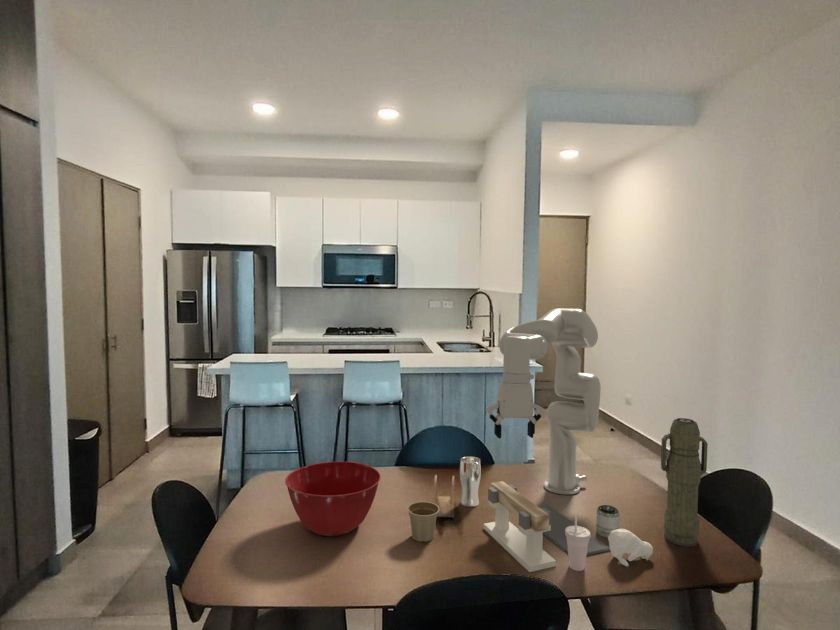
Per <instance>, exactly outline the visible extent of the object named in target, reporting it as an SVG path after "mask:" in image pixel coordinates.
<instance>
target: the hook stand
mask: <svg viewBox="0 0 840 630" xmlns="http://www.w3.org/2000/svg"><path fill="white" fill-rule="evenodd" d="M508 485H509V486H510V487H511V488H513V489H514V490H516V491H517V492H518V487H517V486H515V485H514V484H512V483H511V484H508ZM487 505H488V506H489V507H491V509H493V510H494V509H495V512H494V513H495V514H494V515H495V516H494V520H495V521H491V522H487V523H485V522H484V523H483V529H484V531H486V532H487V534H489V535H490V536H491V537H492V538H493V539H494V540H495V541H496V542H497V543H498V544H499V545H500V546H502V548H503V549H504V550H506V551H507V552H508V553H509V554H510V556H512V557H513V558H514V559H515V560H516V561H517V562H518V563H519V564H520V565H521V566H522V567H524V568H525V569H526V570H527V571H528V573H532V572H537V571H541V570H544V569H550V568H555V567H556V566H557V563H556V562H557V561H556V560H555V559H554V558H553V556H551V555H550V554H549V553H548V552H546V551H545V550H544V549H543V542H544V541H543V538H544V537H543V535H544V534H543V532H545V531H550V530H551V512H550V511H549V510H547V509H546V508H545V507H544V508H541V509H542V510H543V511H545V512H546V513H548V514H549V530H544V531H539V532H535V531H534V530H532V529H531V528H530V516H529V515H528V514H527V513H525V512H524V511H522V512H519V518H518V527H517V526H515V525H514V524H513V523H512V522H511V521H510V511H509V510H508V509H506V508H505V507H504V506H503V505H501V504H500V503H499V502H498V491H497V490H496V489H494V488H493V487H491V486H490V487H488V489H487Z"/></svg>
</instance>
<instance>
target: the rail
mask: <svg viewBox="0 0 840 630" xmlns="http://www.w3.org/2000/svg"><path fill="white" fill-rule="evenodd" d="M509 485H510V484H507V483H506V482H504V481H503V480H502V481H495V482H491V483H490V488H491V487H493V488H494V489H496V490H497V491H498V502H499V503H500V504H501V505H503V506H504V507H505V508H506V509H508V510H509V513H511V514H513V515H514V516H515V517H517V519H519V512H522V511H524V512H525V513H527V514H528V515H529V516H530V528H531V529H532V530H534V531H535V532H539V531H544V530H549V514H548V513H546V512H545V511H543V510H542V509H541V508H539V507H538V505H536V504H535V503H534V502H532V501H531V500H530V499H528V498H527V497H525V496H524V495H523V494H521V492H518V490H517V491H516V490H514V489H513V488H511V487H510V486H509Z"/></svg>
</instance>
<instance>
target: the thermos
mask: <svg viewBox="0 0 840 630" xmlns="http://www.w3.org/2000/svg"><path fill="white" fill-rule="evenodd" d="M698 425H699V424H698V422H697V421H694V420H693V419H690V418H685V417H684V418H682V417H679V418H674V419H673V421H672V423H671V425H670V427H669V433H667V434H664V435H663V437H662V438H661V452H660V453H661V454H660V468H661V471H664V472H666V474H665V478H666V480H667V492H666V493H667V494H666V495H667V497H666V510H665V511H664V517H663V518H664V521H663V527H664V538H665V539H666V540H667V541H668V542H670V543H672V544H675V545H677V546H680V547H681V546H682V547H694V546H697V545H698V543H699V541H698V540H699V539H698V537H699V532H700V519H699V516H698V508H699V507H698V505H699V503H698V502H699V485H700V483H701V481H702V480H701V478H702V477H701V476H702V475H704V474H705V473H707V469H708V468H707V464H708V463H707V462H708V442H707V440H706V439H705V438H704V437H702V436H701V431H700V428H699V426H698ZM668 440H669V446H670V447H669V448H670V449H669V450H668V451H669V452H668V455H667V441H668ZM700 442H701V454H700V453H699V450H700ZM700 455H701V457H700ZM700 458H701V460H700Z"/></svg>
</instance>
